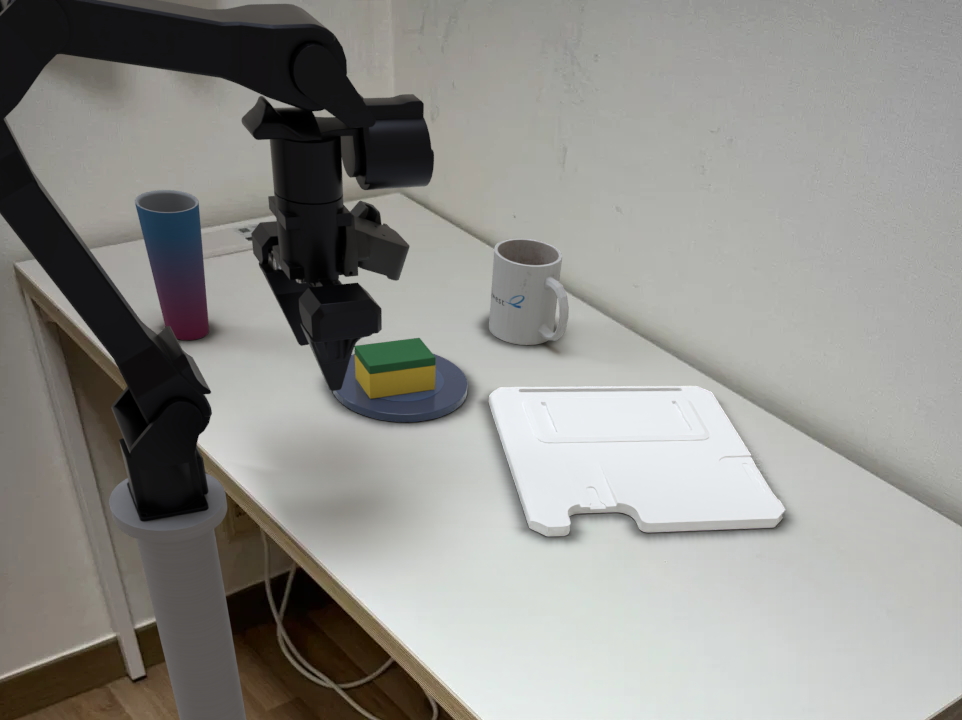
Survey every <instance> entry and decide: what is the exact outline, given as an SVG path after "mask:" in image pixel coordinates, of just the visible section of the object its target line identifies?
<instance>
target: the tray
mask: <svg viewBox="0 0 962 720" xmlns="http://www.w3.org/2000/svg"><path fill="white" fill-rule="evenodd" d="M488 406H489V408H490V411H491V414H492V418H493V421H494V424H495V427H496V430H497V433H498V437H499V439H500V443H501V445H502V449H503V452H504V455H505V458H506V461H507V464H508V467H509V470H510V474H511V476H512V480H513V482H514V485H515V489H516V492H517V495H518V497H519V501H520V504H521V507H522V510H523V513H524V516H525V519H526V523H527V525H528V528H529V529H530V530H532V531H535V532H536V533H539V534H541V535H543V536H545V537H564V536H568V535H569V533H570V529H571V519H570V517H571V516H574V515H579V514H601V513H605V514H606V513H620V514H625V515H627V516H629V517H631V518H632V519H633V521H634V522H635V523H636V526H637V528H638V529H639V530H640V531H641V532H643V533H670V532H673V533H675V532H694V531H696V532H698V531H699V532H700V531H719V530H721V531H722V530H743V529H745V530H746V529H771V528H774V529H775V528H776V526H778V524H779V523H780V522H781V521H782V520H783V518H784V517H783V514H784V513H785V511H786V508H785V506H784V505H783V503H782V501H781V500H780V498H779V499H778V497H777V496H776V495H775V494H774V492H773V490H772V489H771V487H770V485H768V483H767V481H766V479H765V478H764V476H763V475H762V473H761V472H760V469H759V468H758V467H757V465H756V464H755V461H754V459H753V458H752V454H751V452H750V450H749V449H748V447H747V445H746V444H745V443H744V441H743V439H742V438H741V436H740V434H739V433H738V431H737V430H736V428H735V427H734V425H733V423H732V422H731V420H730V419H729V417H728V416H727V414H726V412H725V411H724V409H723V408H722V406H721V403H720V402H719V401H718V399H717V397H716V396H715V395H714V393H713V392H712V391H711V390H708V389H705V388H703V387H701V386H698V385H616V386H615V385H613V386H611V385H608V386H607V385H605V386H603V385H602V386H601V385H600V386H596V385H595V386H594V385H593V386H592V385H591V386H589V385H588V386H587V385H586V386H499V387H498V388H495V389H494V390H493V391H492V392H491V393H490V394H489V396H488Z"/></svg>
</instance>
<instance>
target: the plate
mask: <svg viewBox="0 0 962 720" xmlns="http://www.w3.org/2000/svg"><path fill="white" fill-rule="evenodd" d="M432 354H433V355H434V356H435V357H436V363H435V389H434V390H427V391H420V392H414V393H407V394H400V395H393V396H386V397H380V398H373V399H370V398H369V396H368V395H367V394H366V392H365V391H364V389H363V388H362V386H361V385H360V384H359V382H358V381H357V379H356V375H355V353H352V355H351V358H350V361H349V365H348V368H347V371H346V375H345V378H344V382H343V385H342V388H341V389H340V390H335V391H332V394H333V395H334V397H335V398H336V399H337V401H338V402H340V404H341V405H343V406H344V407H346V408H347V409H349V410H351V411H352V412H355V413H357V414H359V415H361V416H365V417H368V418H371V419H375V420H378V421H385V422H394V423H417V422H426V421H430V420H435V419H438V418H441V417H442V418H443V417H444V416H446V415H449V414H451V413H452V412H454V411H456V410H457V409H459V408H460V407H461V406H462V405H463V403H464V402H465V400H466V399H467V396H468V379H467V377H466V374H465V373H464V372H463V370H462V369H461V368H460V367H459V366H458V365H457V364H456V363H454V362H452V361H451V360H449V359H447V358H445V357H443V356H441V355H438V354H435V353H433V352H432Z"/></svg>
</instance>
